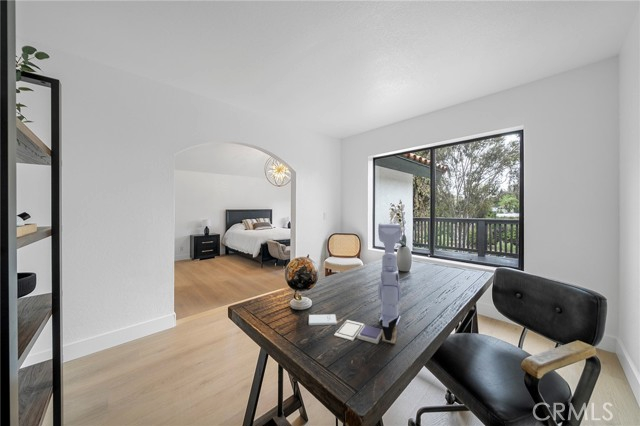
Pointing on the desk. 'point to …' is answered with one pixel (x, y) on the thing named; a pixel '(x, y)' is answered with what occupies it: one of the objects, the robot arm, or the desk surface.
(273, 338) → the desk surface
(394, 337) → the stamp
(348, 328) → the print card
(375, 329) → the ink pad
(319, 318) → the external hard drive
